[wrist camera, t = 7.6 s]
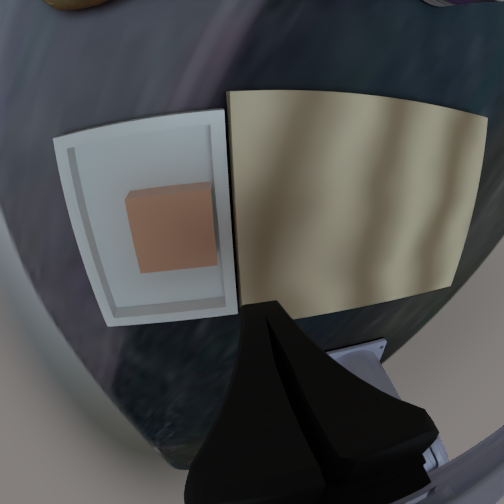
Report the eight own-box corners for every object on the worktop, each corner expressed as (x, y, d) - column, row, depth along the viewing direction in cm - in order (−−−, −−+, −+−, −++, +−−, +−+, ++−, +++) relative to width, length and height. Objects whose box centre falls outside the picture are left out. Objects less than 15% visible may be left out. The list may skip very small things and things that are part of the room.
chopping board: (471, 113, 19) (487, 117, 17) (439, 274, 27) (450, 285, 25) (226, 91, 16) (229, 91, 14) (239, 309, 24) (243, 326, 23)
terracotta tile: (209, 181, 18) (210, 189, 17) (215, 252, 21) (217, 265, 20) (129, 190, 18) (124, 200, 16) (143, 260, 20) (140, 273, 19)
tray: (222, 107, 17) (224, 109, 15) (235, 300, 24) (237, 313, 22) (63, 134, 15) (53, 138, 14) (111, 312, 22) (107, 326, 21)
